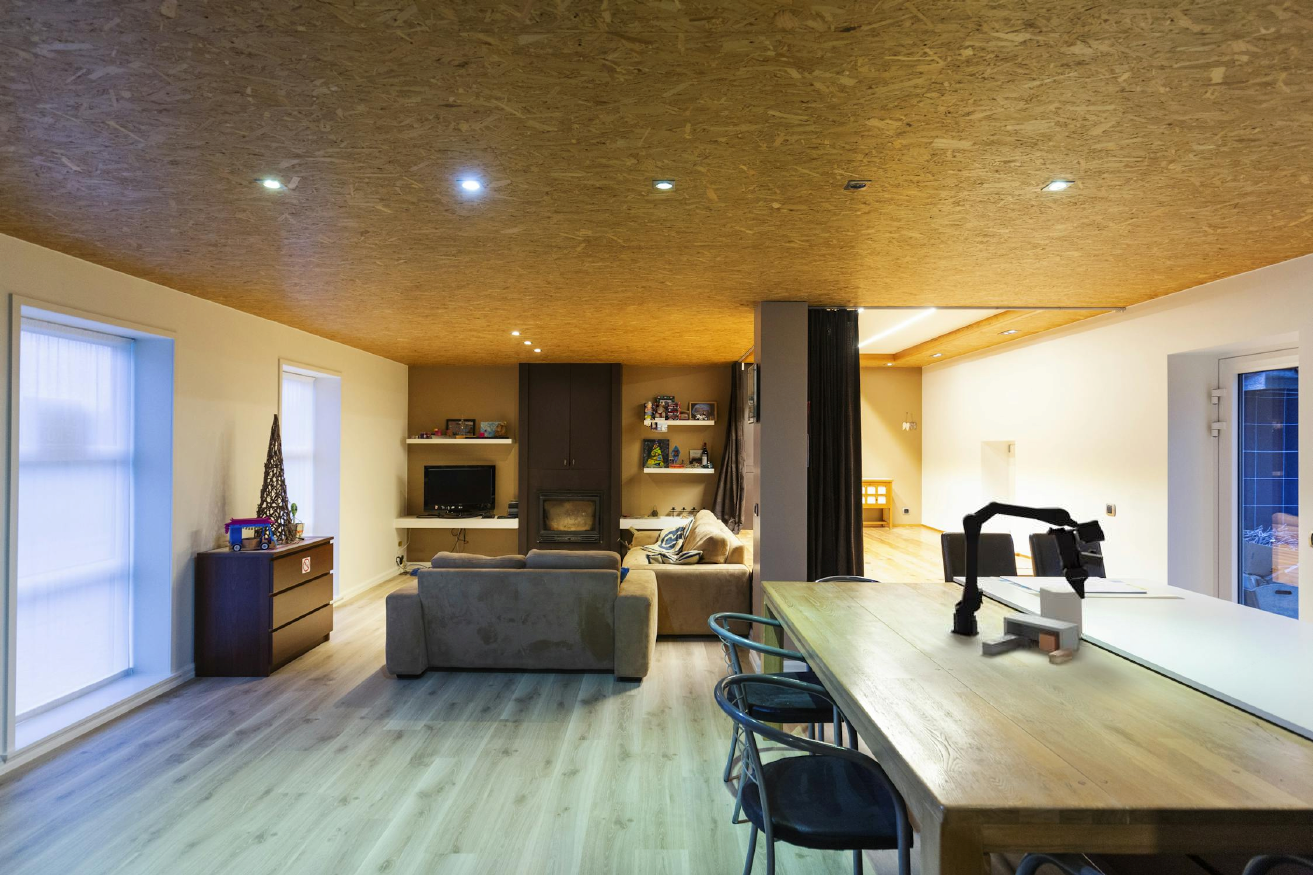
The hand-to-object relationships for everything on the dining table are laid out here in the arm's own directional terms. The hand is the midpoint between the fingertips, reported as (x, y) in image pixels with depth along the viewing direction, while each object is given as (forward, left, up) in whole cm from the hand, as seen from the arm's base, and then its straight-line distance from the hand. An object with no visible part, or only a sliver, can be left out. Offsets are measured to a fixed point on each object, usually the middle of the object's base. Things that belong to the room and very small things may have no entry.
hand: (1081, 595), depth 207 cm
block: (-3, -14, -15) cm, 21 cm away
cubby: (-7, -12, -15) cm, 20 cm away
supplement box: (-9, +5, -15) cm, 18 cm away
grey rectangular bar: (-10, -26, -15) cm, 32 cm away
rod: (+4, -22, -15) cm, 27 cm away
